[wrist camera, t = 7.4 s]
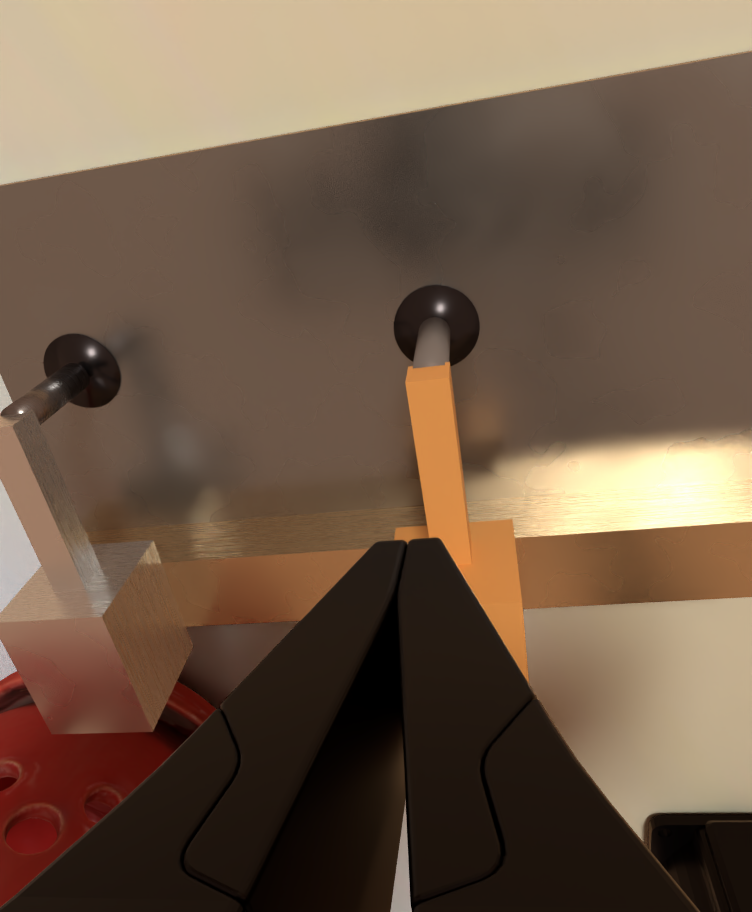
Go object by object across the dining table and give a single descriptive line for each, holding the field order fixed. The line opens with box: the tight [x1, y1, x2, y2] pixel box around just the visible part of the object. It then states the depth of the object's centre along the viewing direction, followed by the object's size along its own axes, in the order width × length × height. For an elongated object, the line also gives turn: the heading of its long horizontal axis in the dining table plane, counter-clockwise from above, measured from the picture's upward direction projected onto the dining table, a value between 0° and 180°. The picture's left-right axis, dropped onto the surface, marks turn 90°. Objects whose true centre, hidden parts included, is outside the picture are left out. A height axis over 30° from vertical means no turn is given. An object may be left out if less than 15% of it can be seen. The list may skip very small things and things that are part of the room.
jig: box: [0, 51, 752, 734], centre depth 17 cm, size 14×21×6 cm, turn 99°
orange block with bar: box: [394, 317, 529, 683], centre depth 17 cm, size 9×3×5 cm, turn 9°
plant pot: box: [0, 671, 216, 907], centre depth 23 cm, size 13×13×12 cm
